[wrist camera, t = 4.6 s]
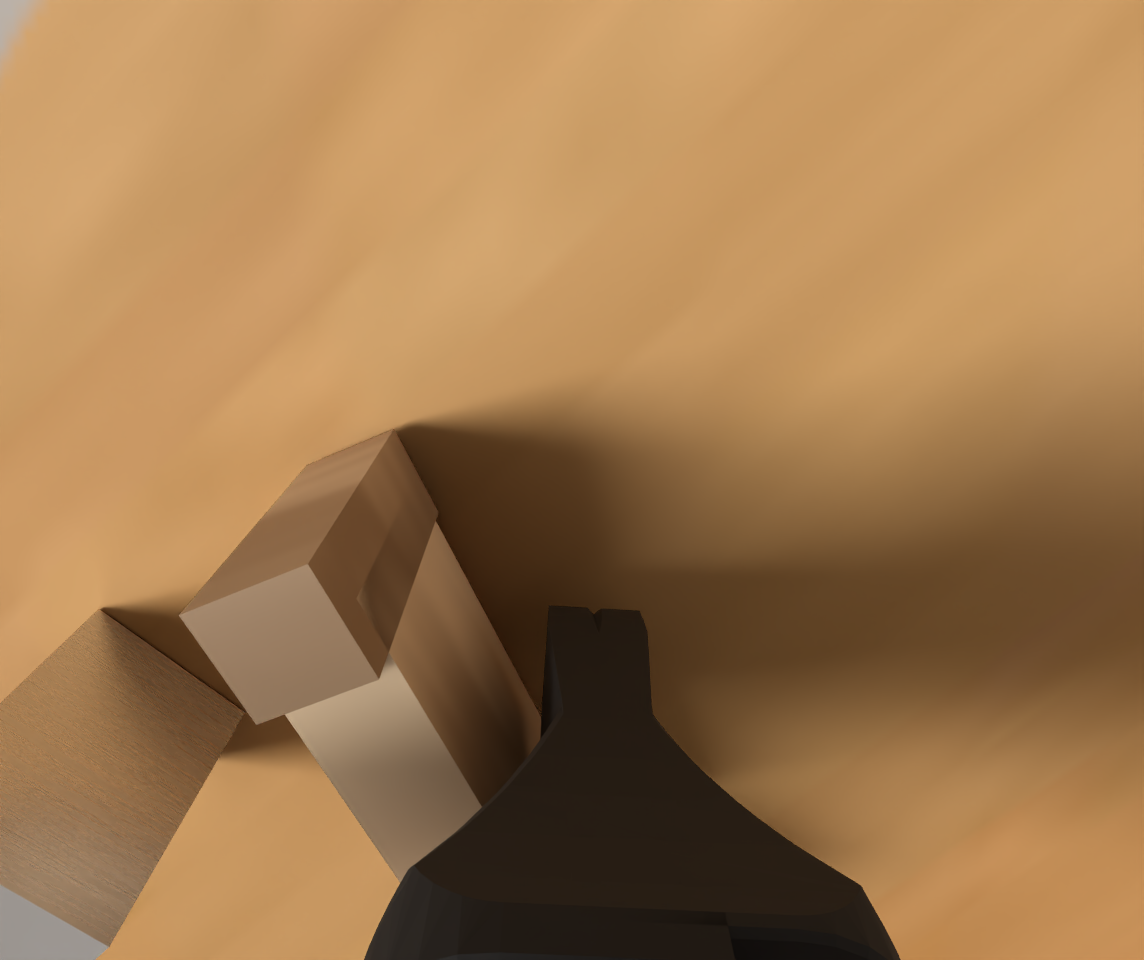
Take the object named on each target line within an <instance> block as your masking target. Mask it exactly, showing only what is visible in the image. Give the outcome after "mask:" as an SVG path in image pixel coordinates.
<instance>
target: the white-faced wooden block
mask: <svg viewBox="0 0 1144 960" xmlns="http://www.w3.org/2000/svg"><path fill="white" fill-rule="evenodd" d="M244 713H245V712H244V711H242V710H241V709H240V708H238V707H237V706H235V705H234V704H232V703H231V702H230V701H228V700H227V699H225V698H224V697H223V696H221V695H220V694H218V693H217V692H215V691H214V690H213V689H211V688H210V687H208V686H207V685H206V684H204V683H203V682H201V681H200V680H199V679H197V678H196V677H194V676H193V675H191V674H190V673H189V672H187V671H186V670H184V669H183V668H182V667H180V666H179V665H177V664H176V663H174V662H173V661H172V660H170V659H169V658H167V657H166V656H165V655H163V654H162V653H160V652H159V651H157V650H156V649H155V648H153V647H152V646H150V645H149V644H148V643H146V642H145V641H143V640H142V639H141V638H139V637H138V636H136V635H135V634H133V633H132V632H131V631H129V630H128V629H126V628H125V627H124V626H122V625H121V624H119V623H118V622H116V621H115V620H114V619H112V618H111V617H109V616H108V615H107V614H105V613H104V612H102V611H101V610H100V609H98V610H97V611H96V612H95V613H94V614H93V615H92V616H91V617H90V618H89V619H88V620H87V621H86V622H85V623H84V624H82V625H81V626H80V627H79V628H78V629H77V630H76V631H75V632H74V633H73V634H72V635H71V636H70V637H69V638H68V639H67V640H66V641H65V642H64V643H63V644H62V645H61V646H59V647H58V648H57V649H56V650H55V651H54V652H53V653H52V654H51V655H50V656H49V657H48V658H47V659H46V660H45V661H44V662H43V663H42V664H41V665H40V666H39V667H38V668H36V669H35V670H34V671H33V672H32V673H31V674H30V675H29V676H28V677H27V678H26V679H25V680H24V681H23V682H22V683H21V684H20V685H19V686H18V687H17V688H16V689H15V690H13V691H12V692H11V693H10V694H9V695H8V696H7V697H6V698H5V699H4V700H3V701H2V702H1V703H0V960H95V959H96V958H97V957H98V956H100V955H101V954H102V953H103V952H104V951H105V950H106V949H107V948H108V947H109V946H110V944H111V943H112V941H113V939H114V938H115V936H116V934H117V932H118V931H119V929H120V927H121V925H122V924H123V922H124V920H125V919H126V917H127V915H128V913H129V912H130V910H131V908H132V907H133V905H134V903H135V901H136V900H137V898H138V896H139V894H140V893H141V891H142V889H143V888H144V886H145V884H146V882H147V881H148V879H149V877H150V875H151V874H152V872H153V870H154V869H155V867H156V865H157V863H158V862H159V860H160V858H161V857H162V855H163V853H164V851H165V850H166V848H167V846H168V844H169V843H170V841H171V839H172V838H173V836H174V834H175V832H176V831H177V829H178V827H179V826H180V824H181V822H182V820H183V819H184V817H185V815H186V813H187V812H188V810H189V808H190V807H191V805H192V803H193V801H194V800H195V798H196V796H197V794H198V793H199V791H200V789H201V788H202V786H203V784H204V782H205V781H206V779H207V777H208V776H209V774H210V772H211V770H212V769H213V767H214V765H215V763H216V762H217V760H218V758H219V757H220V755H221V753H222V751H223V750H224V748H225V746H226V744H227V743H228V741H229V739H230V738H231V736H232V734H233V732H234V731H235V729H236V727H237V726H238V724H239V722H240V720H241V719H242V717H243V715H244Z"/></svg>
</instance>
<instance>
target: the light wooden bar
mask: <svg viewBox="0 0 1144 960" xmlns="http://www.w3.org/2000/svg"><path fill="white" fill-rule="evenodd" d="M438 513H439V512H438V511H437V509H436V507H435V505H434V503H433V501H432V499H431V497H430V496H429V494H428V492H427V490H426V488H425V486H424V484H423V482H422V480H421V479H420V477H419V475H418V473H417V471H416V469H415V467H414V465H413V464H412V462H411V460H410V458H409V456H408V454H407V452H406V450H405V448H404V447H403V445H402V443H401V441H400V439H399V437H398V435H397V433H396V432H395V430H394V429H393V430H390V431H388V432H385V433H383V434H381V435H378V436H376V437H373V438H371V439H369V440H366V441H364V442H361V443H359V444H357V445H354V446H352V447H349V448H347V449H345V450H342V451H340V452H337V453H335V454H333V455H330V456H328V457H325V458H323V459H321V460H318V461H316V462H313V463H311V464H309V465H306V467H305V468H304V469H303V470H302V471H301V472H300V474H299V475H298V476H297V477H296V478H295V480H294V481H293V482H292V483H291V484H290V485H289V487H288V488H287V489H286V490H285V491H284V492H283V494H282V495H281V496H280V497H279V498H278V499H277V501H276V502H275V503H274V504H273V505H272V506H271V508H270V509H269V510H268V511H267V512H266V514H265V515H264V516H263V517H262V518H261V519H260V521H259V522H258V523H257V524H256V525H255V526H254V528H253V529H252V530H251V531H250V532H249V533H248V535H247V536H246V537H245V538H244V539H243V540H242V542H241V543H240V544H239V545H238V546H237V548H236V549H235V550H234V551H233V552H232V553H231V555H230V556H229V557H228V558H227V559H226V560H225V562H224V563H223V564H222V565H221V566H220V567H219V569H218V570H217V571H216V572H215V573H214V574H213V576H212V577H211V578H210V579H209V580H208V582H207V583H206V584H205V585H204V586H203V587H202V589H201V590H200V591H199V592H198V593H197V594H196V596H195V597H194V598H193V599H192V600H191V601H190V603H189V604H188V605H187V606H186V607H185V608H184V610H183V611H182V612H181V613H180V614H179V616H180V618H181V619H182V621H183V622H184V623H185V625H186V626H187V628H188V629H189V631H190V632H191V633H192V635H193V636H194V638H195V639H196V640H197V642H198V643H199V645H200V646H201V647H202V649H203V650H204V652H205V653H206V655H207V656H208V657H209V659H210V660H211V662H212V663H213V664H214V666H215V667H216V669H217V670H218V672H219V673H220V674H221V676H222V677H223V679H224V680H225V681H226V683H227V684H228V686H229V687H230V688H231V690H232V691H233V693H234V694H235V696H236V697H237V698H238V700H239V701H240V703H241V704H242V705H243V707H244V708H245V710H246V711H247V713H248V714H249V715H250V717H251V718H252V720H253V721H254V722H255V724H256V725H258V724H260V723H263V722H266V721H268V720H271V719H274V718H276V717H279V716H282V715H286V717H287V718H288V720H289V721H290V723H291V724H292V726H293V727H294V729H295V730H296V732H297V733H298V734H299V736H300V737H301V739H302V740H303V742H304V743H305V745H306V746H307V748H308V749H309V750H310V752H311V753H312V755H313V756H314V758H315V759H316V761H317V762H318V764H319V765H320V766H321V768H322V769H323V771H324V772H325V774H326V775H327V777H328V778H329V780H330V781H331V783H332V784H333V785H334V787H335V788H336V790H337V791H338V793H339V794H340V796H341V797H342V799H343V800H344V801H345V803H346V804H347V806H348V807H349V809H350V810H351V812H352V813H353V815H354V816H355V818H356V819H357V820H358V822H359V823H360V825H361V826H362V828H363V829H364V831H365V832H366V834H367V835H368V836H369V838H370V839H371V841H372V842H373V844H374V845H375V847H376V848H377V850H378V851H379V852H380V854H381V855H382V857H383V858H384V860H385V861H386V863H387V864H388V866H389V867H390V869H391V870H392V871H393V873H394V874H395V876H396V877H397V879H398V880H399V882H400V883H401V881H402V879H403V877H404V876H405V874H406V872H407V870H408V869H409V868H410V867H411V866H413V865H414V864H416V863H417V862H418V861H419V860H421V859H422V858H423V857H425V856H426V855H427V854H428V853H430V852H431V851H432V850H433V849H435V848H436V847H437V846H439V845H440V844H441V843H442V842H444V841H445V840H446V839H447V838H449V837H450V836H451V835H453V834H454V833H455V832H456V831H457V830H458V829H460V828H461V827H462V826H463V825H464V824H465V823H466V822H467V821H468V820H469V819H470V818H471V817H472V816H473V815H474V814H475V813H476V812H478V811H479V810H480V809H481V808H482V807H483V806H484V805H485V804H486V803H487V802H488V801H489V800H490V799H491V798H492V797H493V796H494V795H495V794H496V793H497V792H498V791H499V790H500V789H501V788H502V787H503V785H504V784H505V783H506V782H507V781H508V780H509V779H510V778H511V776H512V775H513V774H514V773H515V771H516V770H517V769H518V768H519V767H520V765H521V764H522V763H523V762H524V760H525V759H526V758H527V757H528V755H529V754H530V753H531V752H532V750H533V749H534V748H535V746H536V745H537V743H538V742H539V740H540V734H541V716H540V715H539V713H538V711H537V709H536V707H535V705H534V703H533V701H532V700H531V698H530V696H529V694H528V692H527V690H526V688H525V687H524V685H523V683H522V681H521V679H520V677H519V675H518V673H517V672H516V670H515V668H514V666H513V664H512V662H511V660H510V659H509V657H508V655H507V653H506V651H505V649H504V647H503V645H502V644H501V642H500V640H499V638H498V636H497V634H496V632H495V630H494V629H493V627H492V625H491V623H490V621H489V619H488V617H487V616H486V614H485V612H484V610H483V608H482V606H481V604H480V602H479V601H478V599H477V597H476V595H475V593H474V591H473V589H472V588H471V586H470V584H469V582H468V580H467V578H466V576H465V574H464V573H463V571H462V569H461V567H460V565H459V563H458V561H457V559H456V558H455V556H454V554H453V552H452V550H451V548H450V546H449V545H448V543H447V541H446V539H445V537H444V535H443V533H442V531H441V530H440V528H439V526H438V524H437V522H436V519H437V516H438Z"/></svg>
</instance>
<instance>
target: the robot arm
mask: <svg viewBox="0 0 1144 960" xmlns="http://www.w3.org/2000/svg"><path fill="white" fill-rule="evenodd" d="M364 960H900V958H899V955H898V953H897V951H896V949H895V947H894V945H893V943H892V941H891V939H890V937H889V935H888V933H887V931H886V929H885V927H884V926H883V924H882V922H881V920H880V918H879V917H878V915H877V913H876V911H875V910H874V908H873V906H872V904H871V903H870V901H869V899H868V897H867V896H866V894H865V892H864V890H863V888H862V887H861V885H859V884H858V883H856V882H854V881H853V880H851V879H849V878H848V877H846V876H845V875H843V874H841V873H840V872H838V871H836V870H835V869H833V868H831V867H830V866H828V865H827V864H825V863H823V862H822V861H820V860H818V859H817V858H815V857H814V856H812V855H810V854H809V853H807V852H805V851H804V850H802V849H801V848H799V847H797V846H796V845H794V844H793V843H792V842H790V841H789V840H787V839H786V838H784V837H783V836H782V835H780V834H779V833H778V832H776V831H775V830H773V829H772V828H771V827H769V826H768V825H767V824H765V823H764V822H762V821H761V820H760V819H758V818H757V817H756V816H754V815H753V814H752V813H751V812H749V811H748V810H747V809H746V808H744V807H743V806H742V805H741V804H739V803H738V802H737V801H736V800H735V799H733V798H732V797H731V796H730V795H729V794H728V793H727V792H726V791H724V790H723V789H722V788H721V787H720V786H719V785H718V784H716V783H715V782H714V781H713V780H712V779H711V778H710V777H708V776H707V775H706V774H705V773H704V772H703V771H702V770H701V769H700V768H699V767H698V766H697V765H696V764H695V763H694V762H693V761H692V760H691V759H690V758H689V757H688V756H687V755H686V753H685V752H684V751H683V750H682V749H681V748H680V747H679V746H678V745H677V744H676V743H675V741H674V740H673V739H672V738H671V737H670V736H669V734H668V733H667V732H666V731H665V729H664V728H663V727H662V726H661V725H660V723H659V722H658V721H657V719H656V718H655V717H654V715H653V713H652V705H651V686H650V667H649V649H648V634H647V629H646V626H645V623H644V620H643V618H642V616H641V614H640V611H633V610H616V609H600V610H599V611H597V612H596V613H595V614H593V613H592V612H591V611H590V610H589V609H588V608H581V607H564V606H549V611H548V626H547V641H546V655H545V670H544V685H543V699H542V715H541V734H540V740H539V742H538V743H537V745H536V746H535V748H534V749H533V750H532V752H531V753H530V754H529V755H528V757H527V758H526V759H525V760H524V762H523V763H522V764H521V765H520V767H519V768H518V769H517V770H516V771H515V773H514V774H513V775H512V776H511V778H510V779H509V780H508V781H507V782H506V783H505V784H504V785H503V787H502V788H501V789H500V790H499V791H498V792H497V793H496V794H495V795H494V796H493V797H492V798H491V799H490V800H489V801H488V802H487V803H486V804H485V805H484V806H483V807H482V808H481V809H480V810H479V811H478V812H476V813H475V814H474V815H473V816H472V817H471V818H470V819H469V820H468V821H467V822H466V823H465V824H464V825H463V826H462V827H461V828H460V829H458V830H457V831H456V832H455V833H454V834H453V835H451V836H450V837H449V838H447V839H446V840H445V841H444V842H442V843H441V844H440V845H439V846H437V847H436V848H435V849H433V850H432V851H431V852H430V853H428V854H427V855H426V856H425V857H423V858H422V859H421V860H419V861H418V862H417V863H416V864H414V865H413V866H411V867H410V868H409V869H408V870H407V872H406V874H405V876H404V877H403V879H402V881H401V883H400V885H399V887H398V888H397V890H396V892H395V894H394V896H393V898H392V899H391V901H390V903H389V905H388V907H387V909H386V911H385V913H384V915H383V917H382V919H381V921H380V923H379V925H378V927H377V929H376V932H375V934H374V936H373V939H372V941H371V943H370V945H369V948H368V951H367V953H366V956H365V959H364Z"/></svg>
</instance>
